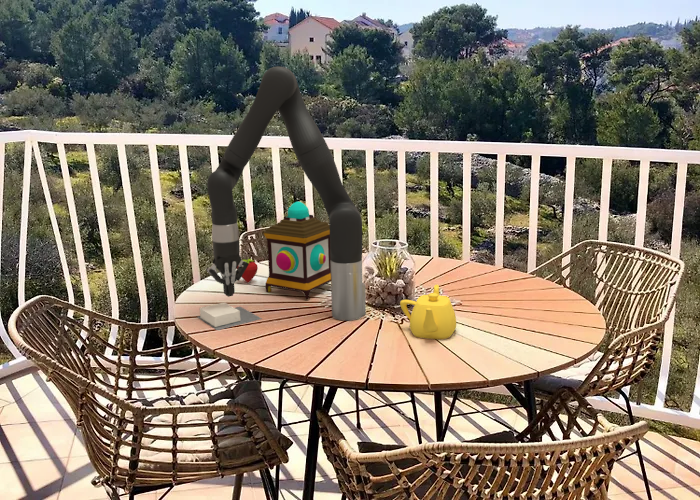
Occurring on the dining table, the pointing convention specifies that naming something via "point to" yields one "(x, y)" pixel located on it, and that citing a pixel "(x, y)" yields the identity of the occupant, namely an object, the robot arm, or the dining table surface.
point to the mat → (244, 318)
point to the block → (220, 314)
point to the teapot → (431, 316)
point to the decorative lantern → (298, 252)
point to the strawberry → (249, 270)
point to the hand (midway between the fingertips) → (229, 295)
